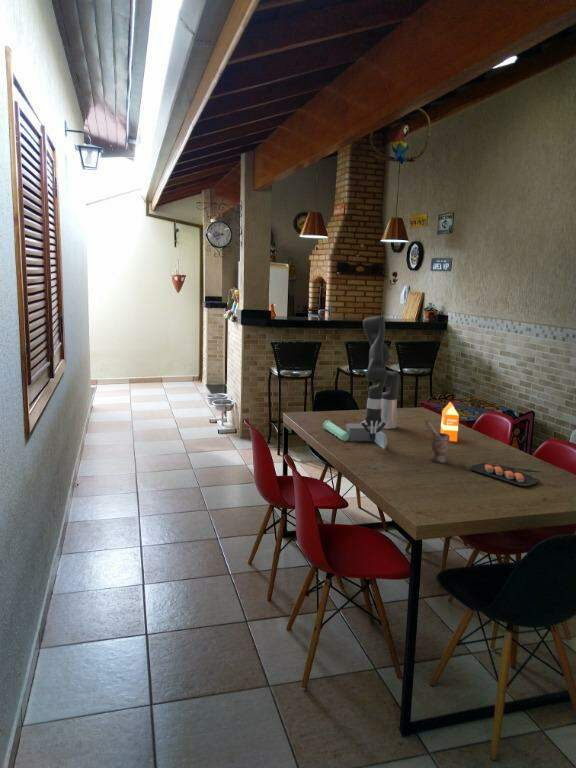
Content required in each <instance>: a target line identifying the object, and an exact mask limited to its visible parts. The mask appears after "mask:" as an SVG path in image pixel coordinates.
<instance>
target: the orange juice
mask: <svg viewBox="0 0 576 768" xmlns="http://www.w3.org/2000/svg"><path fill="white" fill-rule="evenodd" d="M459 421H460V415H459V413H458V412H457V410H456V409H455V406H454V404H453V403H452V402H451V401H449V402H448V404H447V405H446V406H445V407H444V408H443V410H442V411H441V422H440V432H439V433H446V434H448V435H450V438H449V442H458V432H459Z"/></svg>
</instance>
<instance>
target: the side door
mask: <svg viewBox="0 0 576 768" xmlns="http://www.w3.org/2000/svg"><path fill="white" fill-rule="evenodd" d="M373 442H374V443H376V445H378V446H379V447H381V448H382V449H383V450H386V447H387V445H388V438H387V435H386V434H385V433H384V432H383V431H382V430H380V432H377V433H376V436H375V439H374V441H373Z"/></svg>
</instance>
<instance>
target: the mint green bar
mask: <svg viewBox="0 0 576 768" xmlns="http://www.w3.org/2000/svg"><path fill="white" fill-rule="evenodd" d="M322 425H323V426H322V429H324V430H326V431H328V432H330V433H331V434H332V435H333V434H334V436H335V437H336V436H337V437H336V438H338V439H339V440H341V441H342V442H347V441H349V440H348V439H349V435H348V434H347V432H346V430H344V429H342V428H340V427H339V426H337V425H336V424H335V423H334V422H332V421H331V420H325V421H324V422H323V424H322Z"/></svg>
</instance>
